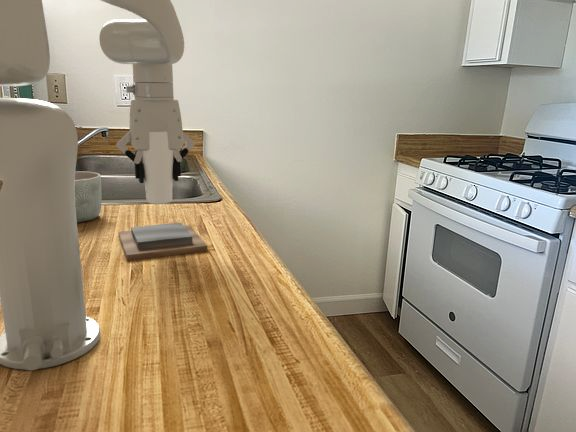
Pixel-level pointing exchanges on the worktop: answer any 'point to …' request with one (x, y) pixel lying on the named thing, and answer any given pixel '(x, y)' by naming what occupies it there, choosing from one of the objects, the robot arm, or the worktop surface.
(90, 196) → the planter
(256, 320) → the worktop surface
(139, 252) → the base
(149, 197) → the drinking glass
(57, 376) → the worktop surface
